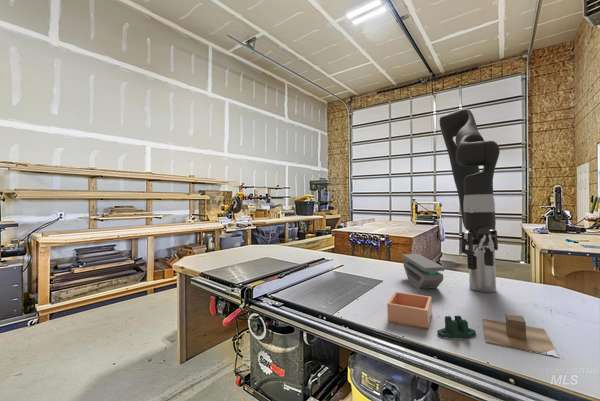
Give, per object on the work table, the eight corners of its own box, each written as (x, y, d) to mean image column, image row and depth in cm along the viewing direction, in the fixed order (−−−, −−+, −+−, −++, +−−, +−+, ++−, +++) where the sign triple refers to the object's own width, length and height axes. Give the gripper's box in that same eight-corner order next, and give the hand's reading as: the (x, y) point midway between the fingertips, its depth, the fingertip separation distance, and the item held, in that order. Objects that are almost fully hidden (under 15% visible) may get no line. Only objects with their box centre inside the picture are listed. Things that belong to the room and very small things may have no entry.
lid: (482, 321, 87) (482, 303, 87) (544, 332, 79) (543, 312, 79) (485, 344, 74) (484, 323, 74) (559, 360, 66) (558, 336, 66)
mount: (442, 340, 77) (441, 323, 76) (434, 332, 81) (433, 316, 81) (480, 338, 77) (479, 321, 77) (470, 330, 81) (469, 314, 81)
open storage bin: (395, 307, 99) (395, 291, 98) (432, 314, 92) (431, 296, 92) (387, 321, 88) (387, 303, 88) (428, 329, 82) (427, 310, 82)
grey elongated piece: (445, 293, 110) (444, 267, 110) (425, 294, 110) (425, 268, 110) (418, 275, 135) (417, 253, 135) (403, 275, 135) (402, 254, 135)
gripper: (478, 210, 84) (480, 262, 83) (451, 211, 77) (453, 268, 76) (506, 210, 77) (508, 267, 77) (478, 211, 70) (481, 273, 70)
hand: (480, 267), depth 77 cm, fingers open, 8 cm apart
